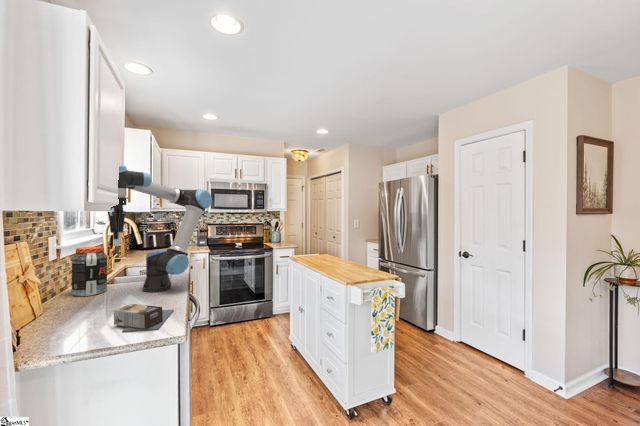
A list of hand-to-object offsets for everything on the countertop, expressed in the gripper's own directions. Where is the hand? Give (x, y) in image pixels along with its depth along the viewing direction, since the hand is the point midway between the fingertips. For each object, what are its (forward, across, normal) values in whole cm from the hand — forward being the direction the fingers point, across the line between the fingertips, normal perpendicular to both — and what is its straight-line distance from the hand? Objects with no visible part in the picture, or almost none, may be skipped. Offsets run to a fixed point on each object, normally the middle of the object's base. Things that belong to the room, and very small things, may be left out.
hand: (117, 245), depth 139 cm
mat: (+30, +20, +22) cm, 42 cm away
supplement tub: (+31, -29, -26) cm, 50 cm away
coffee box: (+27, +20, +11) cm, 35 cm away
